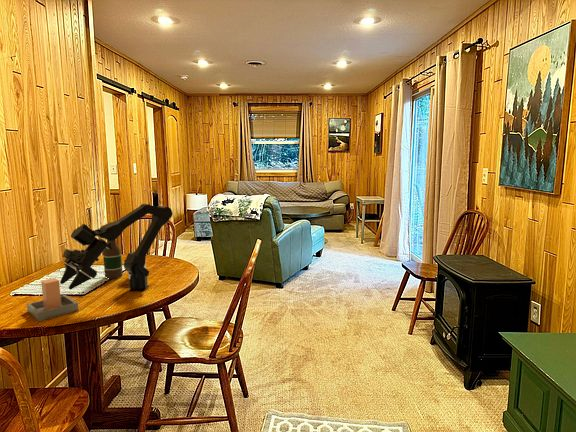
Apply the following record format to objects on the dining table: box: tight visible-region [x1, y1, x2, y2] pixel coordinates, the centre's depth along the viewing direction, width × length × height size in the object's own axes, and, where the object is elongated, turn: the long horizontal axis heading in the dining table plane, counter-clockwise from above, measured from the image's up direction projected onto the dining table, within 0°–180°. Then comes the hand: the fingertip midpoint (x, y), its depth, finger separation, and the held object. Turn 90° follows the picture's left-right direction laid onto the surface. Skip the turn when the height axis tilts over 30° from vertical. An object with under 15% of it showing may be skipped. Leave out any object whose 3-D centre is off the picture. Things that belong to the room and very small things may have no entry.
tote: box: [26, 294, 79, 322], centre depth 148 cm, size 13×13×3 cm
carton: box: [40, 277, 62, 310], centre depth 147 cm, size 5×5×11 cm
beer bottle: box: [102, 238, 123, 280], centre depth 188 cm, size 8×8×24 cm
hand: (65, 286), depth 151 cm, fingers open, 9 cm apart
